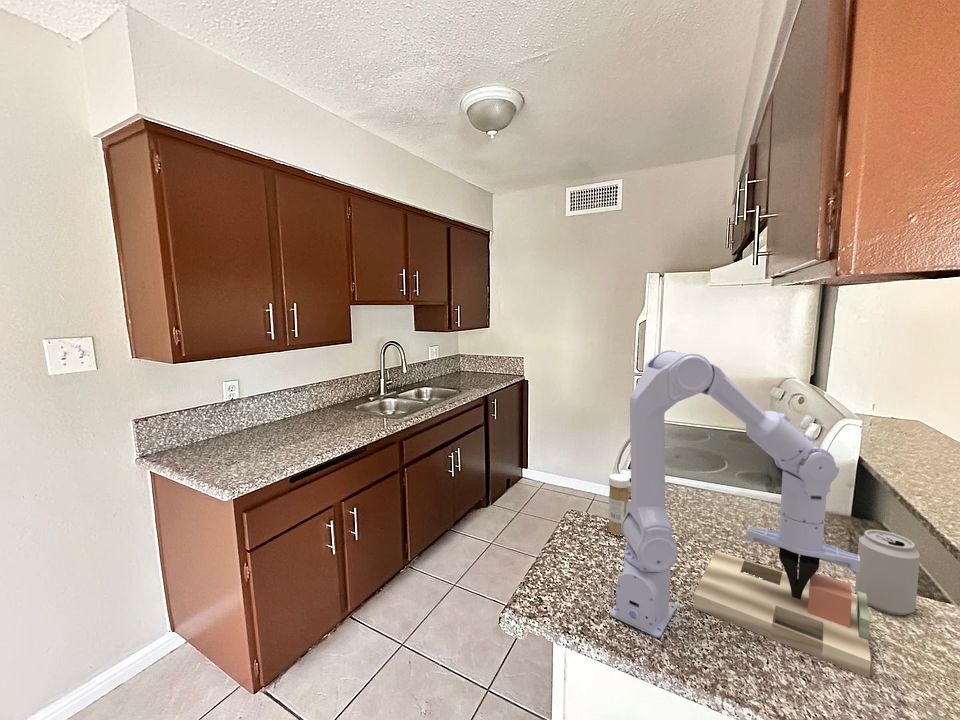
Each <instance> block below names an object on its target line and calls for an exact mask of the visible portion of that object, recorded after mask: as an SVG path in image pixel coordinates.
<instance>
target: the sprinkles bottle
mask: <svg viewBox="0 0 960 720" xmlns="http://www.w3.org/2000/svg"><path fill="white" fill-rule="evenodd" d="M608 484H609V485H608V486H609V493H608V494H609V495H608V528H607V531H608V530H609V531H608V533H609V532H611V533H612V534H616V535H623V533H622V529H621V524H622V520H623V518H624V516H625V514H626V504H627V503H628V502H629V496H630V495H629V491H630V490H629V488H630V487H631V477H629V476H628V475H625V474H621V473H612V474H610V475H609V476H608ZM612 534H611V535H612Z"/></svg>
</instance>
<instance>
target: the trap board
mask: <svg viewBox="0 0 960 720" xmlns="http://www.w3.org/2000/svg"><path fill="white" fill-rule="evenodd" d="M743 572H746V573H749V574H752V575H755V576H758V578H756V577H753V576H750V575H747V574H744V573H743ZM759 577H760V578H763V580H762V579H759ZM809 585H810V580H809V581H808V582H807V584H806V586H805V588H804V590H803V593H802V596H801V600H800V599H797V598H794V597H792V594H791V587H790V583H789V579H788V576H787V574H786V571H783V570H779V569H776V568H773V567H770V566H767V565H764V564H759V563H757V562H754V561H750V560H748V559H744V558H741V557H737V556H735V555H731V554H728V553H726V552H722V551H718V550H715V551H714V554H713V555H712V558H711V559H710V561H709V563H708V565H707V567H706V569H705V571H704V573H703V575H702V577H701V579H700V580H699V582H698V585H697V586H696V588H695V590H694V591H693V595H692V596H693V598H692V600H693V601H692V608H693V609H695V610H698V611H701V612H704V613H705V614H708V615H709V616H710V615H711V616H712V617H716V618H718V619H721V620H723V621H726V622H728V623H731V624H733V625H735V626H738V627H739V628H743V629H745V630H748V631H751V632H752V633H756V634H758V635H760V636H763V637H765V638H767V639H770V640H773V641H775V642H778V643H780V644H782V645H786V646H788V647H789V648H791V649H792V648H793V649H795V650H797V651H800V652H803V653H805V654H807V655H810V656H812V657H814V658H817V659H820V660H823V661H824V662H826V663H829V664H833V665H834V664H835V666H837V667H840V668H842V669H845V670H847V671H849V672H852V673H854V674H857V675H859V674H861V675H860V676H862V675H863V676H862V677H864V676H866V677H865V678H867V677H868V678H867V679H870V677H871V667H872V666H871V663H872V659H871V651H870V644H869V639H870V638H869V635H870V634H869V633H870V623H871V620H870V619H871V618H870V612H869V604H868V603H867V596H866V594H865V593H862V592H859V591H858V594H857V593H853V592H851V595H852V605H851V618H850V628H848V627H845V626H843V625H840V624H837V623H834V622H831V621H828V620H826V619H823V618H820V617H817V616H814V615H811V614H809V613H808V599H809Z"/></svg>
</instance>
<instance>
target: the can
mask: <svg viewBox="0 0 960 720" xmlns="http://www.w3.org/2000/svg"><path fill="white" fill-rule="evenodd" d="M857 555H859V556H860V572H855V586H854V588H855V589H854V590H855V594H858V591H859V592H862V593H865V594H866V596H867V603H868V606H870V607H873V608H875V609H876V610H879V611H881V612H884V613H887V614H890V615H895V616H896V615H897V616H905V615H907V614H908V615H909V614H911V613H912V614H913V613H914V612H915V611H916V604H917V593H918V586H919V585H918V582H919V570H920V560H921V554H920V553H919V551H918V550H917V549H916V544H915V543H914V542H913V541H912V540H911V539H908V538H907V537H905V536H902V535H900V534H898V533H894V532H890V531H887V530H881V529H867V530H865V531H864V532H863V535H862V536H860V537H859V538H858V545H857Z"/></svg>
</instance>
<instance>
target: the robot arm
mask: <svg viewBox="0 0 960 720" xmlns="http://www.w3.org/2000/svg"><path fill="white" fill-rule="evenodd" d="M699 394H702V395H707V396H710V397H711V398H712V399H713V400H715V401H716V402H717V403H719V404H720V405H721V406H722V407H724V408H725V409H726V410H727V411H729V412H730V413H732V414H733V415H734V416H735V417H736V418H737V419H739V420H740V421H741V422H742V423H744V424H745V433H746V436H747V437H748V438H749V439H750V440H752V441H753V442H754V443H755V444H756V445H757V446H759V447H760V448H761V449H762V450H763V451H764V452H766V454H768V455H769V456H770V457H771V458H772V459H774V463H775V466H776V467H777V468H778V469H781V470H782V474H781V475H782V476H781V477H782V478H781V493H780V494H781V496H780V497H781V498H780V511H779V526H778V530H773V529H772V530H771V529H766V528H759V527H754V526H749V525H748V528H747V530H746V542H750V543H755V542H757V543H760V544H764V545H767V546H770V547H774V548H778V549H779V550H778V551H779V552H778V557H779V561H780V563H781V565H782V567H783V569H784V572H786V574H787V576H788V579H789V583H790V587H791V594H792V597H794V598H797V599H800V600H801V596H802V593H803V590H804V588H805V586H806V584H807V582H808V581H809V580H810V578H811V577H812V576H813V575H814V574H817V572H818V570H819V568H820V561H824V562H827V563H831V564H834V565H837V566H842V567H844V568H848V569H849V570H850V571H852V572H855V573H856V572H860V556H859V555H858V554H856V553H853V552H852V553H851V552H850V551H846V550H843V549H841V548H838V547H836V546H832V545H830V544H827V543H825V542H824V534H825V520H826V504H827V496H828V493H830V489H831V488H830V487H831V485H832V483H833V482H834V481H835V480H836V478H837V477H838V475H839V472H840V467H839V466H837V463H836V461H835V458H834V457H833V454H831V453H830V452H829V451H827V450H825V449H823V448H820V447H818V446H815V445H814V443H813V442H812V440H813V438H812V437H811V436H809V435H808V434H806V433H801V431H800V430H798V428H796V427H795V426H793V425H792V424H791V423H790V421H791V420H792V419H791V417H790V416H788V415H787V414H786V413H782V412H777V411H775V410H763V409H762V408H761V407H760V406H759V405H758V404H757V403H756V402H754V400H752V399H751V398H750V397H749V396H748V395H747V394H746V393H745V392H744V391H743V390H742V389H741V388H740V387H739V386H738V385H737V384H736V383H735V382H734V381H732V380H731V378H729V376H727V375H726V374H725V373H724V372H723V370H722V369H721V368H720V367H719V366H717V365H715V364H714V363H711V362H710V361H709V359H707V357H705V356H703V355H701V354H699V353H693V352H692V353H691V352H690V353H689V352H688V353H686V352H678V351H675V350H671V349H670V350H668V349H667V350H664V351H661V352H659V353H658V354H655V356H653V357H652V358H651V359H649V360H648V361H647V362H646V363H645V365H644V372H643V373H642V375H641V377H640V378H639V380H638V382H637V384H636V385H635V387H634V389H633V391H632V392H631V394H630V397H629V427H630V428H629V430H630V433H629V434H630V438H629V440H630V490H631V491H630V495H631V497H630V498H631V499H630V501H629V500H628V503H627V504H626V514H625V516H624V518H623V520H622V524H621V529H622V533H623V535H624V536H623V537H624V538H625V539H626V540H627V541H626V545H625V547H624V550H623V553H624V554H623V555H624V557H623V569H622V571H621V574H620V575H619V577H618V578H617V581H616V592H615V593H616V594H615V605H614V606H613V608H611V610H610V611H609V615H610V616H611V617H612V618H615V619H617V620H619V621H621V622H623V623H626V624H628V625H630V627H631V626H632V627H634V628H636V629H638V630H640V631H643V632H645V633H647V634H648V635H651V636H653V637H655V638H661V637H662V635H663V633H664V631H665V630H666V627H667V625H668V624H669V623H670V621H671V619H672V617H673V615H674V613H675V612H676V610H677V604H675V603H673V602H670V588H671V586H670V585H671V582H670V581H671V568H672V567H673V566H674V565H675V564H676V562H677V560H678V557H679V549H678V545H677V543H676V542H675V540H674V538H673V534H672V533H673V532H672V528H673V527H672V525H671V521H670V518H669V516H668V513H667V510H666V455H665V453H666V451H665V450H666V448H665V446H666V445H665V441H666V439H665V438H666V437H665V436H666V435H665V429H666V428H665V413H666V412H667V411H668V410H669V409H670V410H671V408H673V406H674V405H676V404H677V403H679V402H681V401H684V400H686V399H689V398H691V397H693V396H696V395H699Z"/></svg>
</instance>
